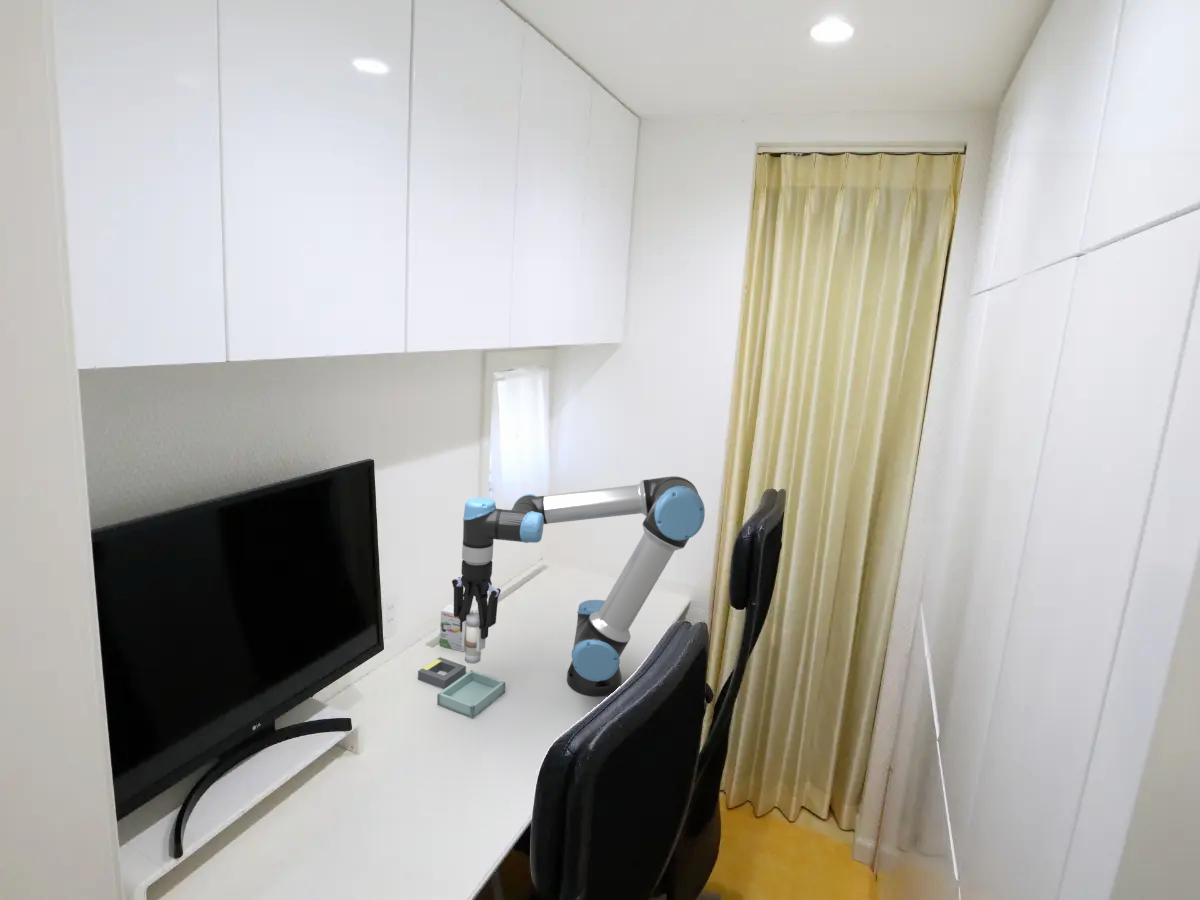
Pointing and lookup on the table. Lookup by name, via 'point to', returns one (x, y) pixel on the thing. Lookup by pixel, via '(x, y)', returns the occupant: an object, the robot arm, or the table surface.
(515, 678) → the table surface
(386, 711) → the table surface
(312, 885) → the table surface
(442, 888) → the table surface
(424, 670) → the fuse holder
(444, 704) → the parts tray
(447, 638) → the ink box
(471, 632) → the grey-white banded cylinder
